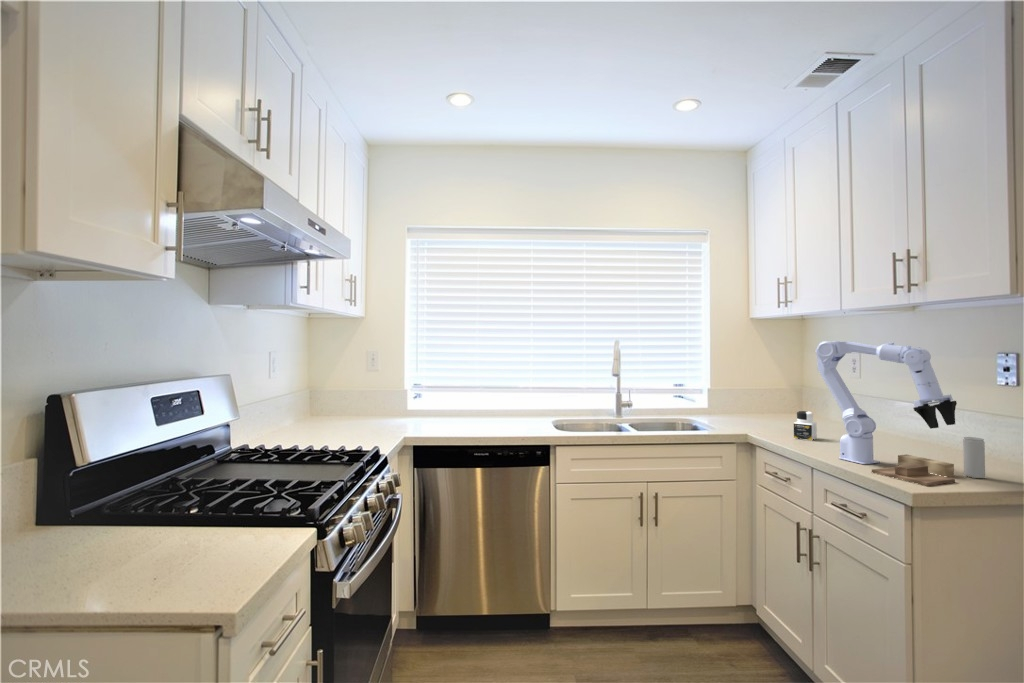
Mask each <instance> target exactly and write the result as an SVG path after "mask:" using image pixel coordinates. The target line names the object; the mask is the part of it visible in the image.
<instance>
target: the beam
mask: <svg viewBox="0 0 1024 683" xmlns="http://www.w3.org/2000/svg"><path fill="white" fill-rule="evenodd" d="M908 464H920V465H925V466H928V473H933V474H937V475H941V476H949V477H954V476H955V464H954V463H950V462H945V461H940V460H936V459H931V458H926V457H923V456H922V457H920V456H916V455H911V454H899V455H897V466H898V465H908ZM953 475H954V476H953Z"/></svg>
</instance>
